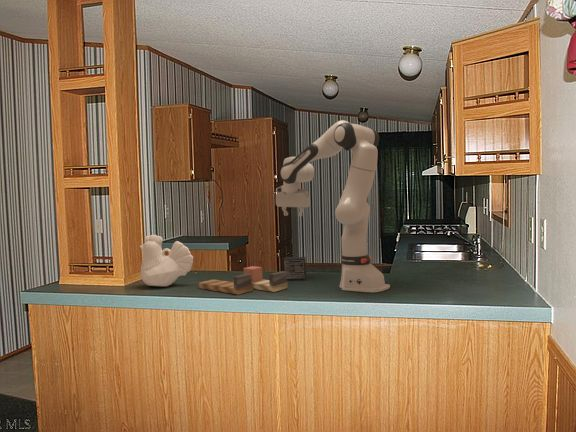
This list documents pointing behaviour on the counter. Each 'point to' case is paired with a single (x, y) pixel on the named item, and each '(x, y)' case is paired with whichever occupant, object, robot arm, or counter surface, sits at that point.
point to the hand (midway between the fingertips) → (293, 215)
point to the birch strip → (267, 288)
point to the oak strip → (230, 285)
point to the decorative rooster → (163, 262)
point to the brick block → (254, 273)
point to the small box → (295, 268)
